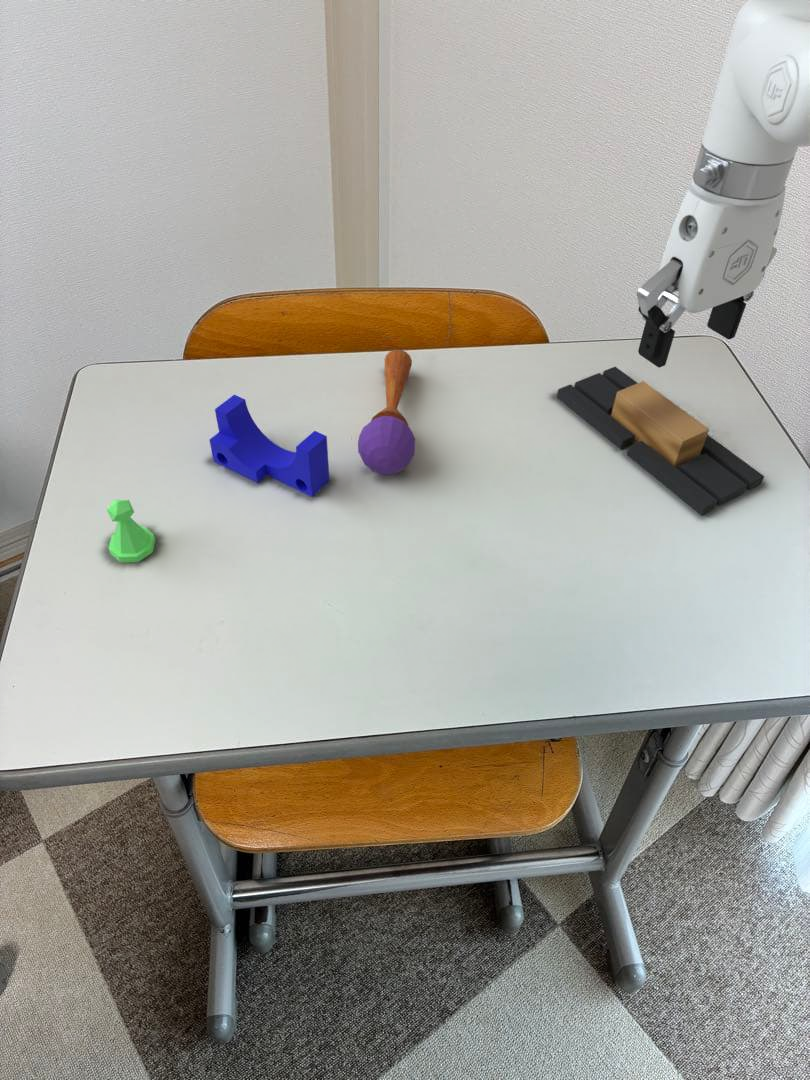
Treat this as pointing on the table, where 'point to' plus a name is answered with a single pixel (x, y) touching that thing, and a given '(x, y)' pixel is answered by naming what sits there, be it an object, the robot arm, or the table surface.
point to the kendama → (389, 423)
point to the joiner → (659, 423)
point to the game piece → (128, 534)
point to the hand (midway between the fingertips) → (686, 346)
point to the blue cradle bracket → (267, 451)
